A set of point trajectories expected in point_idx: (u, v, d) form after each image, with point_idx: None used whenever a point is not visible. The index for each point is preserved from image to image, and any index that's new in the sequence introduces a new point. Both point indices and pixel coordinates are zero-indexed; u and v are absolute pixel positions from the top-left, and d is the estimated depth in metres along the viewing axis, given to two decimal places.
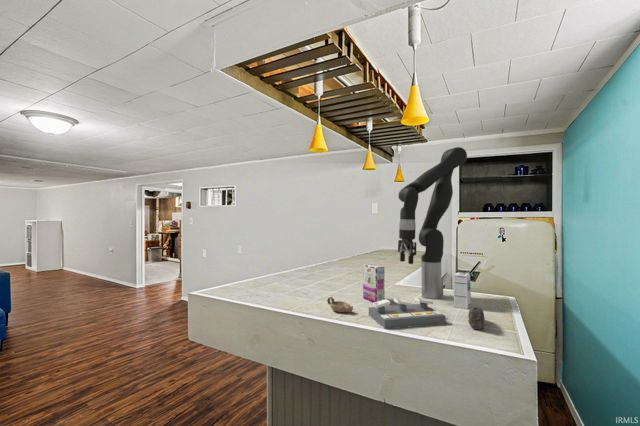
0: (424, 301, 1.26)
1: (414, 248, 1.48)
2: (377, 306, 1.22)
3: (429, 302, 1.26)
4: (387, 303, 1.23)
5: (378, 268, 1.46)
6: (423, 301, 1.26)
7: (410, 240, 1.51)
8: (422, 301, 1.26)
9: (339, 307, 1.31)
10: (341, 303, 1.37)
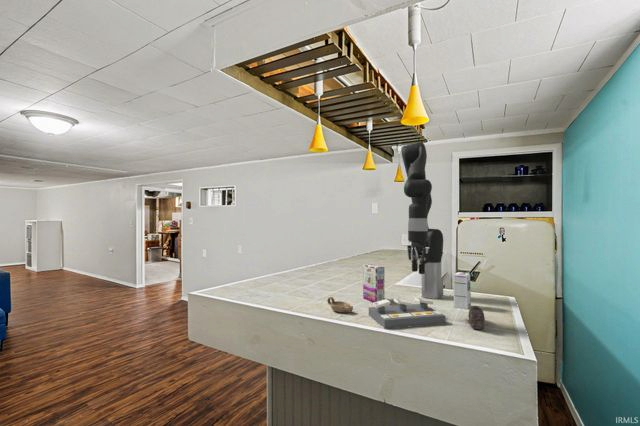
0: (424, 301, 1.26)
1: (426, 256, 1.21)
2: (377, 306, 1.22)
3: (429, 302, 1.26)
4: (387, 303, 1.23)
5: (378, 268, 1.46)
6: (423, 301, 1.26)
7: (422, 243, 1.24)
8: (422, 301, 1.26)
9: (339, 307, 1.31)
10: (341, 303, 1.37)
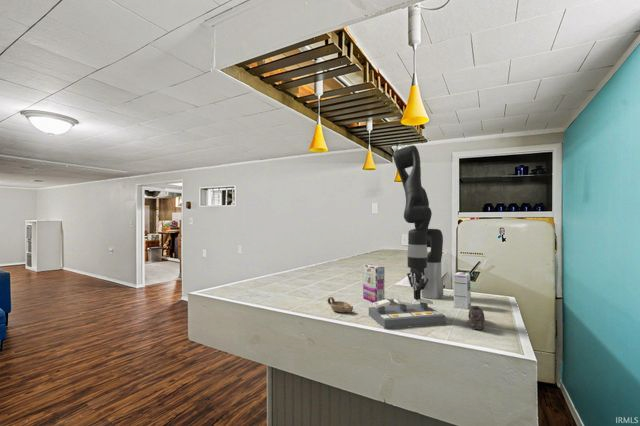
0: (424, 301, 1.26)
1: (423, 285, 1.23)
2: (377, 306, 1.22)
3: (429, 302, 1.26)
4: (387, 303, 1.23)
5: (378, 268, 1.46)
6: (423, 301, 1.26)
7: (421, 270, 1.24)
8: (422, 301, 1.26)
9: (339, 307, 1.31)
10: (341, 303, 1.37)
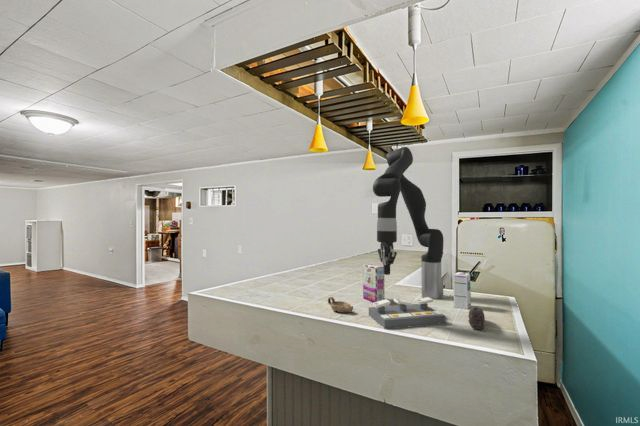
0: (424, 302, 1.26)
1: (392, 259, 1.20)
2: (377, 306, 1.22)
3: (429, 301, 1.26)
4: (387, 303, 1.23)
5: (378, 268, 1.46)
6: (423, 302, 1.26)
7: (390, 244, 1.21)
8: (422, 302, 1.26)
9: (339, 307, 1.31)
10: (341, 303, 1.37)
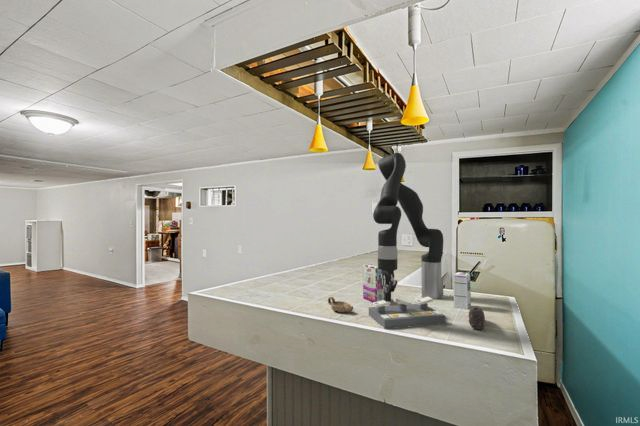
0: (424, 302, 1.26)
1: (393, 287, 1.20)
2: (377, 306, 1.22)
3: (429, 300, 1.26)
4: (387, 303, 1.23)
5: None
6: (423, 302, 1.26)
7: (391, 272, 1.21)
8: (422, 303, 1.26)
9: (339, 307, 1.31)
10: (342, 303, 1.37)
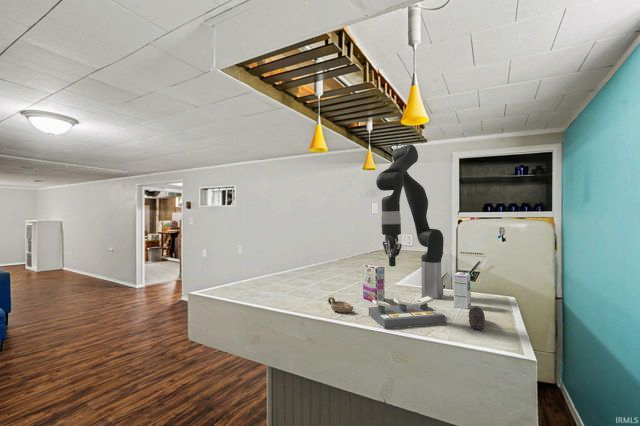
0: (424, 302, 1.26)
1: (397, 250, 1.24)
2: (377, 303, 1.22)
3: (429, 300, 1.26)
4: (387, 305, 1.23)
5: (378, 268, 1.46)
6: (423, 302, 1.26)
7: (395, 236, 1.24)
8: (422, 303, 1.26)
9: (339, 307, 1.31)
10: (342, 303, 1.37)
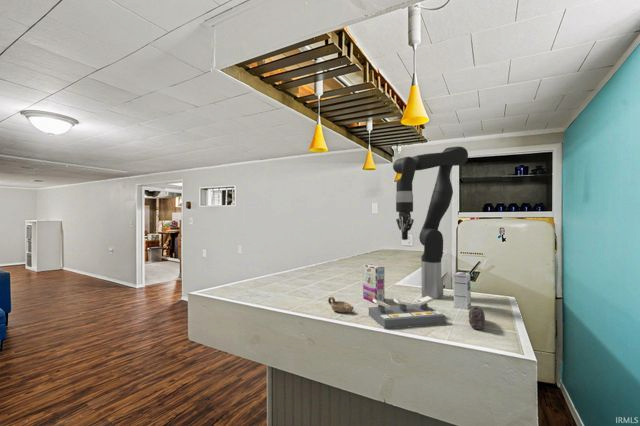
0: (424, 302, 1.26)
1: (410, 225, 1.41)
2: (377, 302, 1.22)
3: (429, 300, 1.26)
4: (387, 306, 1.23)
5: (378, 268, 1.46)
6: (423, 302, 1.26)
7: (408, 213, 1.42)
8: (422, 303, 1.26)
9: (339, 307, 1.31)
10: (342, 303, 1.37)
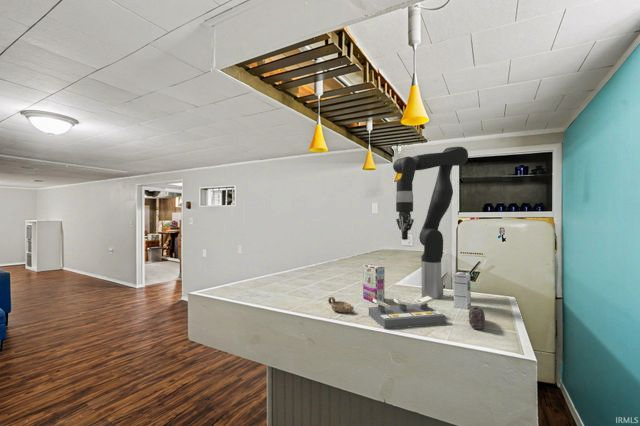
0: (424, 302, 1.26)
1: (410, 225, 1.41)
2: (377, 302, 1.22)
3: (429, 300, 1.26)
4: (387, 306, 1.23)
5: (378, 268, 1.46)
6: (423, 302, 1.26)
7: (408, 213, 1.42)
8: (422, 303, 1.26)
9: (339, 307, 1.31)
10: (342, 303, 1.37)
